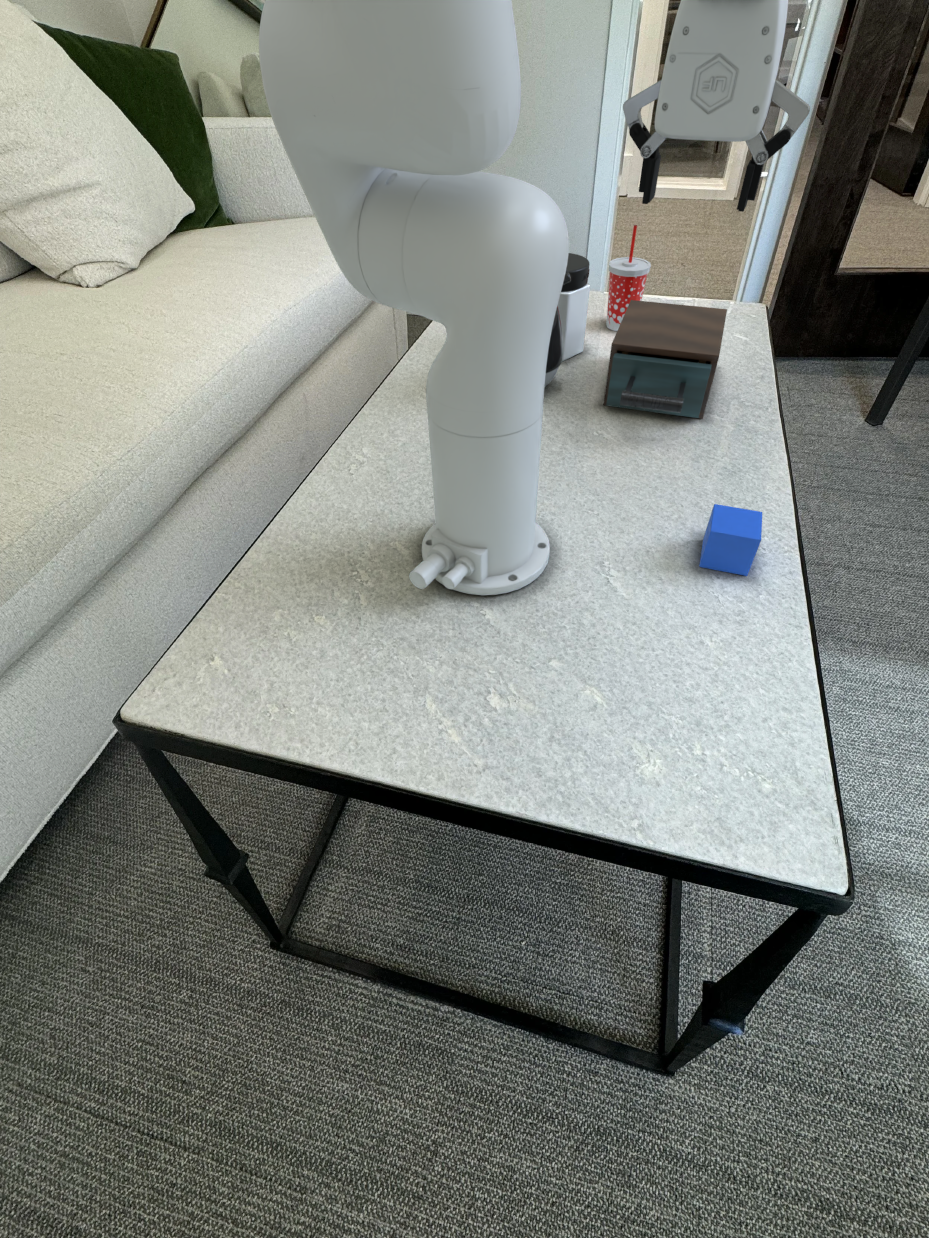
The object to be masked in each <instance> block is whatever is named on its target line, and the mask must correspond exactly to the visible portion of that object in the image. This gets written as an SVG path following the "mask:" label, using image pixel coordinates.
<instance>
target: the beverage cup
mask: <svg viewBox="0 0 929 1238" xmlns="http://www.w3.org/2000/svg"><path fill="white" fill-rule="evenodd" d="M637 230H638V224H633V228H632V236H631V242H630V249H629V256H623V257H616V258H613V259H611V260H610V261H609V262H608V272H609V280H608V281H609V282H608V297H607V307H606V308H607V309H606V321H605V322H606V323H605V325H606V328H607V329H609V330H611V331H615V332H617V331H618V328H619V326H620V324H621V322H622V319H623V317H624V315H625V312H626V310H627V308H628V306H629V303H630V301H631V300H637V301H643V296H644V293H645V292H644V291H645V287H646V283H647V278H648V274H649V273H650V271H651V267H652V263H651V262H650V261H648V260H647V259H644V258H642V257H633V256H634V249H635V244H636V237H637Z"/></svg>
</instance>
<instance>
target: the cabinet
mask: <svg viewBox="0 0 929 1238" xmlns="http://www.w3.org/2000/svg"><path fill="white" fill-rule="evenodd" d="M727 312H728V308H719V307H708V306H700V305H699V306H698V305H688V304H676V303H669V302H668V303H666V302H657V301H645V300H642V301H637V300H631V301H630V303H629V306H628V308H627V310H626V312H625V315H624V317H623V319H622V322H621V324H620V326H619V328H618V331H616V333H615V335H614V338H613V340H612V342H611V347H610V354H609V361H608V368H607V374H606V375H607V376H606V381H605V382H606V383H605V390H604V397H603V406H606V407H608V406H607V405H606V404H607V397H608V390H609V383H610V376H611V369H612V362H613V357H614V354H615V353H618V354H622V351H627V352H635V353H644V354H652V355H661V356H670V357H678V358H687V359H696V360H704V361H706V363H705V364H711V365H712V366H711V371H710V375H709V379H708V382H707V386H706V390H705V394H704V398H703V402H702V406H701V410H700V414H699V418H698V419H700V420H701V419H704V416H705V412H706V408H707V404H708V401H709V397H710V394H711V389H712V386H713V381H714V378H715V373H716V371H717V366H718V362H719V360H720V359H719V358H720V354H721V348H722V342H723V337H724V330H725V324H726V319H727ZM619 408H620V409H621V407H619ZM649 412H650V411H648V413H649ZM650 413H651V412H650ZM677 416H678V417H680V416H679V415H677Z"/></svg>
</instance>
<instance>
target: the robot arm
mask: <svg viewBox="0 0 929 1238" xmlns="http://www.w3.org/2000/svg"><path fill="white" fill-rule="evenodd" d="M788 7H789V0H680V3H679V6H678V8H677V12H676V16H675V19H674V23H673V26H672V31H671V34H670V38H669V43H668V47H667V53H666V56H665V61H664V65H663V71H662V77H661V79H660V80H658V81H657V82H655V83H653V84H651V85H650V86H648V87H646V88H645V89H643V90H641V91H640V92H638V93H636V94H634V95H632V96H631V97H629V98H627V100H625V101H624V102H623V103H622V110H623V114H624V118H625V121H626V125H627V127H628V133H629V137H630V139H632V141H633V143H634V144H635V145H636V147H637V149H638V151H640V152H639V153H640V156H641V158H642V164H641V171H640V178H639V186H638V193H643V194H642V201H641V204H642V205H648V204H650V203H651V202H652V201H653V199H654V198H655V196H656V192H657V185H658V178H659V172H660V165H661V160H662V155H661V152H660V147H661V145H662V144H663V143H664V142H665V140H667V139H674V140H688V141H706V142H707V141H708V142H709V141H711V142H731V143H732V142H736V143H738V142H739V143H740V142H741V143H742V142H745V144H746V146H747V148H748V151H749V152H750V155H751V159H750V160H749V162H748V163H747V165H746V168H745V172H744V177H743V181H742V185H741V189H740V194H739V198H738V201H737V206H736V210H737V211H738V212H739V213H740V212H742V213H744V212H745V209H746V207H747V205H748V202H749V201H753V202H755V200H756V196H757V193H758V188H759V185H760V182H761V177H762V174H763V170H764V165H765V164H766V162H767V161H768V160H770V158H772V157H773V156H774V155H775V154H777V153H778V152H779V151H780V150H781V149H782V148H784V147H785V146H786V145H788V143H789V142H790V140H791V139H792V137H793V136H794V135H795V134H796V132H797V131H798V130H799V128H800V127H801V126H802V124H803V122H804V121H805V120H806V119H807V118H808V116H809V114H810V112H811V106H810V105H809V103H808V102H806V101H805V100H803V98H801V97H800V96H798V95H797V94H796V93H794V92H793V91H792V90H791V89H790V88H788V87H787V86H786V85H784V84H783V83H782V82H781V81H779V80H778V79H777V76H778V72H779V67H780V61H781V56H782V52H783V51H782V50H783V47H784V46H783V45H784V39H785V35H786V34H785V33H786V28H787V19H788V18H787V17H788V10H789V8H788ZM258 58H259V69H260V72H261V73H260V74H261V81H262V88H263V91H264V96H265V99H266V104H267V108H268V111H269V114H270V117H271V119H272V123H273V125H274V127H275V130H276V133H277V134H278V137H279V140H280V142H281V144H282V146H283V147H282V148H283V149H284V151H285V154H286V156H287V158H288V160H289V162H290V165H291V167H292V169H293V171H294V173H295V175H296V178H297V180H298V183H299V184H300V187H301V189H302V191H303V194H304V196H305V198H306V200H307V202H308V204H309V207H310V209H311V211H312V214H313V216H314V218H315V220H316V222H317V224H318V226H319V228H320V231H321V233H322V234H323V237H324V239H325V241H326V244H327V246H328V248H329V250H330V252H331V255H332V257H333V258H334V261H335V262H336V265H337V266H338V268H339V270H340V271H341V272H342V274H343V276H344V277H345V279H346V280H347V282H348V283H349V284H350V285H351V286H352V287H353V289H354V290H355V291H357V292H358V293H359V294H360V295H362V296H363V297H365V298H366V299H368V300H370V301H372V302H374V303H377V304H380V305H382V306H385V307H389V308H393V309H396V310H399V311H402V312H403V311H404V312H406V313H410V314H414V315H417V316H420V317H424V318H425V319H428V320H429V321H433V322H436V323H439V324H441V325H442V326H444V328H445V332H446V336H445V341H444V343H443V345H442V347H441V349H440V350H439V352H438V354H437V355H436V357H435V358H434V360H433V361H432V363H431V365H430V366H429V367H430V368H429V369H428V372H427V377H426V382H425V400H426V401H425V402H426V415H427V426H428V427H427V428H428V438H429V439H428V440H429V454H430V467H431V479H432V480H431V481H432V494H433V506H434V507H433V508H434V521H435V522H434V523H433V524H432V525H431V526H430V527H429V529H428V530H427V531H426V532H425V534H424V537H423V539H422V541H421V556H422V561H421V562H419V564H418V565H416V566H415V567H414V568H413V569H412V570H411V571H410V573H408V578H409V580H410V583H411V584H412V585H413V586H414V587H416V588H417V589H420V590H424V589H426V588H427V587H428V586H429V585H430V584H431V583H432V582H433V581H434V580H436V581H437V582H438V583H440V584H441V585H443V586H444V587H445V588H446V589H448V590H453V591H456V592H460V593H463V594H468V595H475V596H496V595H501V594H507V593H511V592H514V591H517V590H520V589H522V588H525V587H526V586H528V585H530V584H532V583H533V582H534V581H535V580H537V579H538V578H539V577H540V576H541V575H542V573H543V572H544V571H545V569H546V567H547V565H548V563H549V559H550V550H551V549H550V547H551V544H550V540H549V536H548V535H547V533H546V531H545V530H544V528H543V527H542V526H541V525H540V524H539V523H538V522H537V507H538V495H539V494H538V493H539V492H538V490H539V476H540V463H541V462H540V460H541V447H542V432H543V417H544V397H545V387H546V386H545V375H546V364H547V357H548V349H549V343H550V337H551V332H552V326H553V322H554V318H555V313H556V309H557V305H558V301H559V297H560V293H561V289H562V286H563V282H564V277H565V273H566V268H567V262H568V253H570V237H569V230H568V229H569V228H568V224H567V222H566V219H565V216H564V214H563V211H562V210H561V208H560V207H559V205H558V204H557V203H556V202H555V200H554V199H553V198H552V197H551V196H550V195H549V194H548V193H546V192H545V191H544V190H542V189H541V188H540V187H538V186H536V185H534V184H532V183H530V182H527V181H525V180H523V179H521V178H518V177H512V176H509V175H506V174H500V173H495V172H494V173H493V172H487V171H483V170H485V169H488V168H490V166H492V165H493V164H494V163H497V162H498V161H499V160H500V159H501V158H502V157H503V155H504V154H505V153H506V151H508V149H509V147H510V146H511V143H512V142H513V140H514V138H515V135H516V133H517V129H518V124H519V121H520V115H521V107H522V106H521V105H522V75H521V64H520V55H519V46H518V38H517V30H516V23H515V16H514V8H513V1H512V0H264V4H263V6H262V11H261V16H260V23H259V30H258ZM656 100H657V103H656V109H655V115H654V129H655V131H654V132H653V133H652V134H651V132H650V131H649V129H648V128H647V126H646V124H645V123H644V121H643V118H642V109H643V108H644V107H646V106H647V105H649V104H651V103H653V102H654V101H656ZM772 103H773V104H774V105H776V106H777V107H778V108H780V109H781V110H782V111H784V112H785V113H786V114H787V115H788V118H787V121H786V122H785V123H784V125H783V126H782V127H781V129H780V130H779V131H777V132H776V133H775V134H774V135H773V136H771V138H769V139H767V136H766V135H765V132H764V130H763V128H764V125H765V123H766V120H767V118H768V114H769V111H770V107H771V104H772ZM544 386H545V387H544Z"/></svg>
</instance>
